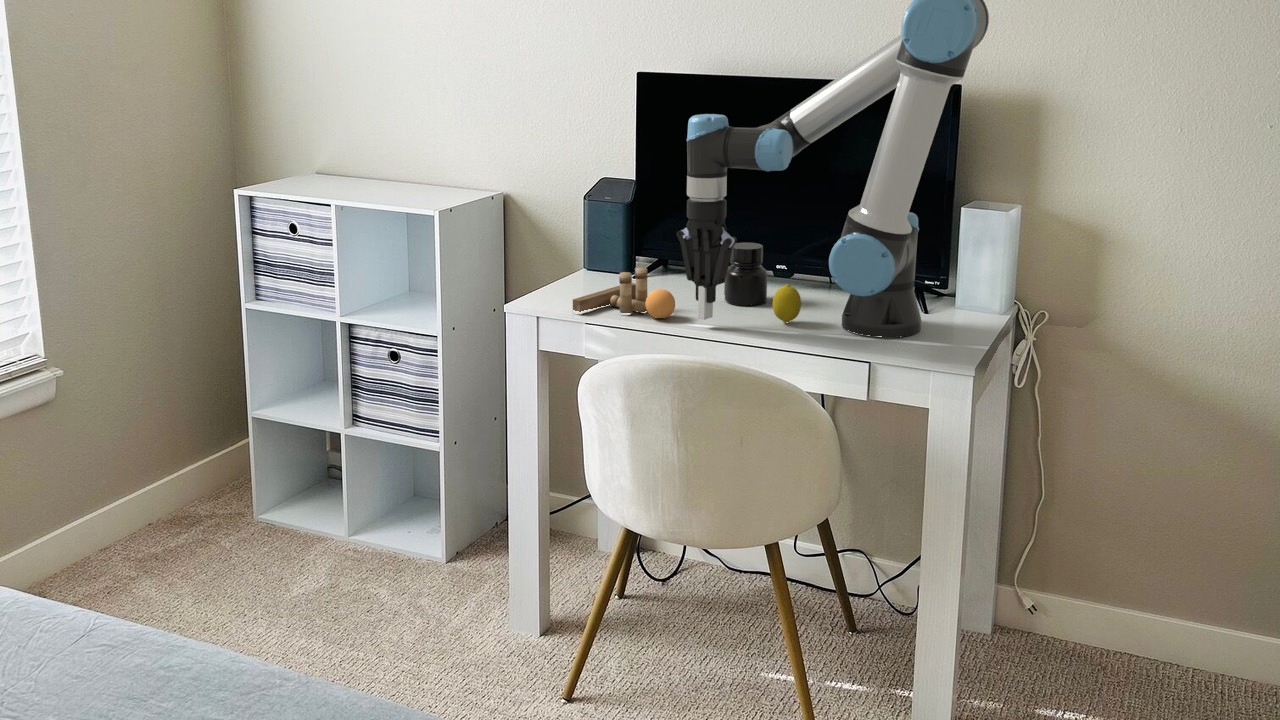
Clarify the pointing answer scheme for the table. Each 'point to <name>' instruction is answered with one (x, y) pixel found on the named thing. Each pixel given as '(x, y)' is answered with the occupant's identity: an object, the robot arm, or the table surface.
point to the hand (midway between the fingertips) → (705, 317)
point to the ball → (660, 303)
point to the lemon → (786, 303)
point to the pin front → (636, 304)
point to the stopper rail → (598, 298)
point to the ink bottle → (746, 276)
